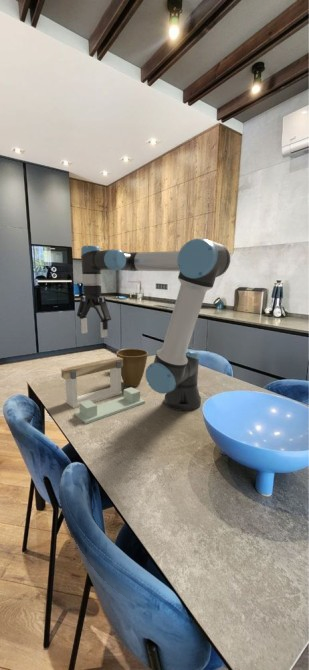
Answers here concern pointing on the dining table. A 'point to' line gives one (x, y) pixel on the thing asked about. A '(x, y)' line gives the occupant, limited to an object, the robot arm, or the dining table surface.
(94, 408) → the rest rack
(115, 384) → the stand
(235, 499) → the dining table surface
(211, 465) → the dining table surface
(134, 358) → the plant pot
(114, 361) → the rail
